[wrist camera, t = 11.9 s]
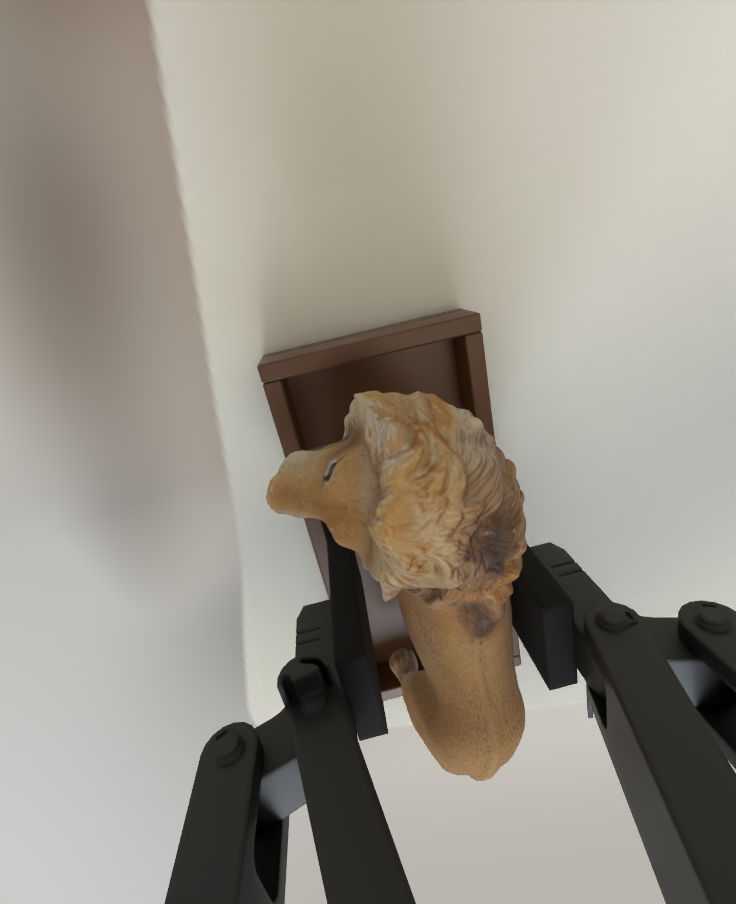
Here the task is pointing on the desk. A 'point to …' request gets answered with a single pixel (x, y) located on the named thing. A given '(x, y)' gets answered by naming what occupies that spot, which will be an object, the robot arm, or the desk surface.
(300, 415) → the tray
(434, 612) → the lion figurine
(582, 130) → the desk surface
